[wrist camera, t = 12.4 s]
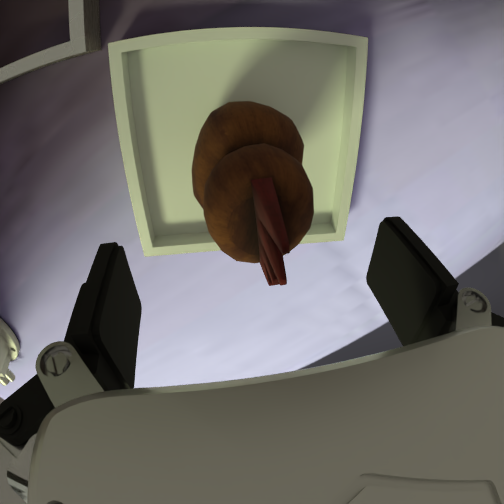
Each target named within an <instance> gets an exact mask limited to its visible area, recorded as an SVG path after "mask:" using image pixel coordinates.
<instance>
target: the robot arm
mask: <svg viewBox="0 0 504 504" xmlns="http://www.w3.org/2000/svg"><path fill="white" fill-rule="evenodd" d="M366 280H367V284H368V286H369V287H370V289H371V291H372V292H373V294H374V296H375V297H376V299H377V301H378V303H379V304H380V306H381V308H382V309H383V311H384V313H385V315H386V316H387V318H388V320H389V322H390V323H391V325H392V327H393V329H394V331H395V332H396V334H397V336H398V338H399V340H400V341H401V343H402V345H403V347H400V348H396V349H392V350H388V351H384V352H380V353H377V354H372V355H368V356H365V357H360V358H356V359H351V360H347V361H343V362H338V363H333V364H329V365H324V366H319V367H313V368H308V369H303V370H297V371H291V372H285V373H279V374H273V375H266V376H260V377H253V378H245V379H238V380H229V381H221V382H211V383H201V384H189V385H178V386H165V387H149V388H134V380H135V367H136V356H137V346H138V336H139V327H140V319H141V310H142V309H141V302H140V299H139V296H138V293H137V290H136V287H135V284H134V281H133V277H132V274H131V271H130V268H129V265H128V261H127V258H126V255H125V251H124V248H123V246H118V244H117V243H116V242H113V243H105V244H100V246H99V249H98V251H97V254H96V256H95V259H94V262H93V264H92V267H91V270H90V273H89V276H88V278H87V281H86V283H84V284H82V286H81V288H80V291H79V294H78V297H77V300H76V303H75V306H74V309H73V312H72V315H71V319H70V322H69V325H68V329H67V332H66V336H65V339H64V342H62V341H58V342H54V343H51V344H50V345H48V346H46V347H45V348H44V349H43V350H42V351H41V352H40V354H39V355H38V358H37V360H36V371H37V374H36V375H35V376H34V377H33V378H31V379H30V380H29V381H28V382H27V383H25V384H24V385H23V386H22V387H20V388H19V389H18V390H17V391H15V392H14V393H13V394H12V395H11V396H9V397H8V398H7V399H6V400H4V401H3V402H2V403H1V404H0V504H504V318H503V317H501V316H498V315H496V314H494V313H492V312H491V306H490V303H489V301H488V299H487V298H486V297H485V295H483V294H482V293H481V292H480V291H478V290H475V289H473V288H463V289H461V290H460V292H459V293H458V291H457V290H456V288H457V286H458V282H457V281H456V280H455V279H454V277H453V276H452V275H451V274H450V272H449V271H448V270H447V269H446V268H445V266H444V265H443V264H442V263H441V262H440V261H439V259H438V258H437V257H436V256H435V255H434V254H433V252H432V251H431V250H430V249H429V248H428V247H427V246H426V245H425V243H424V242H423V241H422V240H421V239H420V238H419V237H418V236H417V235H416V234H415V232H414V231H413V230H412V229H411V228H410V227H409V226H408V225H407V224H406V223H405V222H404V221H403V220H402V219H401V218H400V217H386V218H384V220H383V221H382V222H381V223H380V225H379V229H378V233H377V237H376V241H375V245H374V249H373V253H372V257H371V261H370V265H369V268H368V272H367V276H366ZM19 350H20V346H19V343H18V340H17V338H16V336H15V334H14V333H13V332H12V330H11V329H10V328H9V326H8V325H7V324H6V323H5V322H4V321H3V320H2V319H1V318H0V383H1V384H2V385H4V386H5V385H7V384H8V383H9V381H11V382H12V381H14V380H15V375H14V374H13V373H12V372H11V371H10V370H9V369H8V366H9V363H10V361H13V360H15V359H16V358H17V356H18V353H19ZM133 388H134V389H133Z"/></svg>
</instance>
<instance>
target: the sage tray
mask: <svg viewBox="0 0 504 504" xmlns="http://www.w3.org/2000/svg"><path fill="white" fill-rule="evenodd" d="M367 50H368V38H367V37H361V36H355V35H349V34H342V33H335V32H327V31H318V30H308V29H294V28H275V27H228V28H209V29H196V30H185V31H176V32H168V33H161V34H154V35H148V36H142V37H136V38H131V39H126V40H121V41H116V42H112V43H108V51H109V62H110V73H111V82H112V91H113V99H114V107H115V114H116V121H117V127H118V134H119V140H120V146H121V152H122V157H123V163H124V168H125V173H126V178H127V183H128V188H129V193H130V198H131V202H132V207H133V211H134V215H135V220H136V224H137V228H138V232H139V236H140V240H141V244H142V248H143V252H144V256H145V257H146V256H158V255H170V254H182V253H194V252H206V251H218V250H221V249H220V248H219V246H218V245H217V244H216V242H215V241H214V240H213V238H212V237H211V235H210V233H209V232H208V228H207V225H206V221H205V218H204V212H203V208H202V207H201V205H200V204H199V203H198V201H197V200H196V198H195V197H194V194H193V186H192V171H191V169H192V162H193V156H194V150H195V145H196V142H197V139H198V136H199V133H200V130H201V128H202V126H203V125H204V123H205V121H206V119H207V118H208V116H209V114H210V113H211V112H212V111H214V110H215V109H217V108H219V107H221V106H223V105H224V104H226V103H228V102H237V101H252V102H256V103H260V104H263V105H267V106H270V107H272V108H274V109H276V110H277V111H279V112H281V113H283V114H284V115H286V116H288V117H289V118H290V119H291V120H292V121H293V123H294V124H295V126H296V128H297V130H298V132H299V134H300V136H301V138H302V140H303V143H304V152H303V161H302V166H303V168H304V170H305V172H306V174H307V176H308V178H309V180H310V183H311V185H312V187H313V198H314V215H313V219H312V223H311V228H310V229H309V230H308V232H307V233H306V235H305V236H304V237H303V239H302V240H301V242H300V243H299V244H304V243H317V242H329V241H342V240H344V236H345V230H346V225H347V219H348V214H349V208H350V202H351V196H352V190H353V183H354V177H355V170H356V163H357V156H358V148H359V140H360V132H361V123H362V114H363V104H364V93H365V81H366V67H367Z"/></svg>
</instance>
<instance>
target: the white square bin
mask: <svg viewBox="0 0 504 504" xmlns="http://www.w3.org/2000/svg"><path fill="white" fill-rule="evenodd" d="M68 2H69V30H70V41H69V42H66V43H63V44H60V45H57V46H54V47H51V48H48V49H45V50H43V51H40V52H37V53H35V54H32V55H30V56H27V57H25V58H22V59H20V60H18V61H15V62H13V63H11V64H9V65H6V66H4V67H2V68H0V84H2V83H5V82H7V81H9V80H12V79H14V78H16V77H19V76H21V75H24V74H26V73H29V72H32V71H34V70H37V69H40V68H42V67H45V66H48V65H51V64H54V63H57V62H60V61H63V60H67V59H70V58H73V57H77V56H80V55H84V54H88V53H91V52H95V51H99V50H101V36H100V17H99V0H68Z"/></svg>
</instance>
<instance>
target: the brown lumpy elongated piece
mask: <svg viewBox="0 0 504 504" xmlns="http://www.w3.org/2000/svg"><path fill="white" fill-rule="evenodd" d="M303 152H304V143H303V140H302V138H301V136H300V134H299V132H298V130H297V128H296V126H295V124H294V123H293V121H292V120H291V119H290V118H289V117H288V116H286V115H284V114H283V113H281V112H279V111H277V110H276V109H274V108H272V107H270V106H267V105H263V104H260V103H256V102H252V101H237V102H228V103H226V104H224V105H223V106H221V107H219V108H217V109H215V110H214V111H212V112H211V113H210V114H209V116H208V118H207V119H206V121H205V123H204V125H203V126H202V128H201V130H200V133H199V136H198V139H197V142H196V145H195V150H194V156H193V162H192V169H191V171H192V186H193V194H194V197H195V198H196V200H197V201H198V203H199V204H200V205H201V207H202V208H203V212H204V218H205V221H206V225H207V228H208V232H209V233H210V235H211V237H212V238H213V240H214V241H215V242H216V244H217V245H218V246H219V248H220V249H221V250H222V251H223V252H224V253H226V254H227V255H229V256H230V257H232V258H233V259H235V260H236V261H241V262H249V263H259V262H260V265H261V267H262V270H263V272H264V275H265V277H266V280H267V282H268V284H269V286H271V285H278V284H280V285H286V284H287V279H286V272H285V266H284V261H283V255H285V254H287V253H290V251H291V250H292V249H293V248H294V247H296V246H297V245H298V244H299V243H300V242H301V240H302V239H303V237H304V236H305V235H306V233H307V232H308V230H309V229H310V228H311V223H312V219H313V215H314V198H313V187H312V185H311V183H310V180H309V178H308V176H307V174H306V172H305V170H304V168H303V166H302V161H303Z"/></svg>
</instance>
